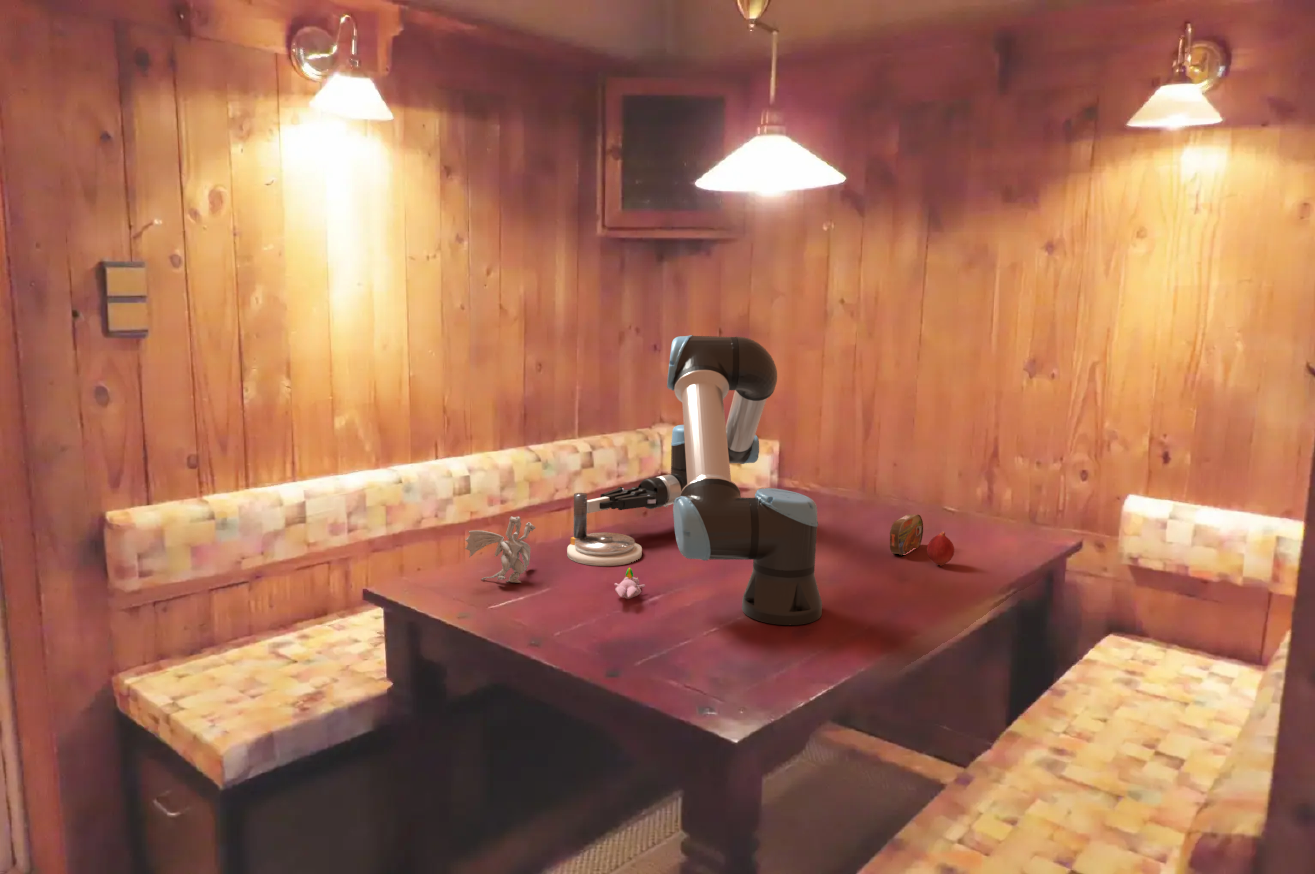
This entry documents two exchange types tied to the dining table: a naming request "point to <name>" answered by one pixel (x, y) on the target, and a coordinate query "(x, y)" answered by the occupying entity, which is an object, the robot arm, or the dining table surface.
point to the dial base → (603, 560)
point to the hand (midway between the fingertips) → (586, 507)
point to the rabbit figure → (629, 586)
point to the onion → (940, 549)
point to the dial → (596, 534)
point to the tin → (906, 534)
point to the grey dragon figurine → (505, 548)
